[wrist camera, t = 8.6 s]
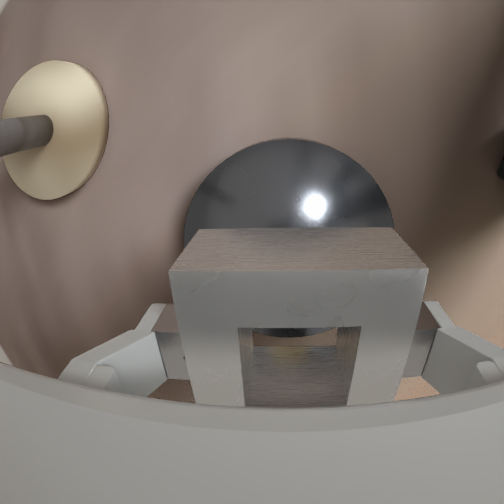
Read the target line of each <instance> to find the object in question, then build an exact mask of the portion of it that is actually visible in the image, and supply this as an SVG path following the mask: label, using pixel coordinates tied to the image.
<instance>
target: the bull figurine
mask: <svg viewBox="0 0 504 504" xmlns="http://www.w3.org/2000/svg"><path fill="white" fill-rule="evenodd" d="M497 175H498V176H499V177H500V178H501V179H503V180H504V158H503V160H502V162H501V164H500V167H499V169H498V172H497Z"/></svg>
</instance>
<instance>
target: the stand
mask: <svg viewBox="0 0 504 504" xmlns="http://www.w3.org/2000/svg"><path fill="white" fill-rule="evenodd" d="M108 129H109V114H108V106H107V102H106V98H105V95H104V92H103V89H102V87H101V86H100V84H99V82H98V80H97V79H96V78H95V76H94V75H93V74H92V73H91V72H90V71H89V70H87V69H86V68H84V67H83V66H81V65H78V64H76V63H71V62H66V61H57V60H52V61H46V62H43V63H40V64H38V65H36V66H34V67H33V68H31V69H30V70H29V71H27V72H26V73H25V74H24V75H23V76H22V77H21V78H20V79H19V80H18V82H17V83H16V84H15V86H14V87H13V89H12V91H11V93H10V94H9V96H8V99H7V101H6V103H5V107H4V110H3V113H2V118H1V120H0V157H1V156H2V157H3V160H4V163H5V166H6V169H7V171H8V173H9V175H10V176H11V178H12V180H13V181H14V182H15V183H16V185H17V186H18V187H19V188H20V189H21V190H22V191H24V192H25V193H26V194H28V195H30V196H32V197H34V198H37V199H43V200H52V199H56V198H59V197H62V196H64V195H66V194H69V193H71V192H73V191H75V190H77V189H78V188H80V187H81V186H82V185H83V184H85V183H86V182H87V181H88V179H89V178H90V177H91V176H92V175H93V173H94V172H95V170H96V169H97V167H98V165H99V163H100V161H101V159H102V156H103V154H104V150H105V147H106V143H107V138H108Z"/></svg>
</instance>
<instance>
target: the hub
mask: <svg viewBox="0 0 504 504" xmlns="http://www.w3.org/2000/svg"><path fill="white" fill-rule="evenodd" d="M308 227H392V228H393V230H394V225H393V220H392V215H391V211H390V208H389V206H388V203H387V201H386V198H385V196H384V194H383V193H382V191H381V189H380V187H379V186H378V184H377V183H376V182H375V180H374V179H373V178H372V177H371V175H370V174H369V173H368V172H367V171H366V170H365V169H364V168H363V167H362V166H361V165H359V164H358V163H357V162H355V161H354V160H353V159H351V158H350V157H348V156H347V155H345V154H343V153H341V152H339V151H338V150H336V149H334V148H332V147H330V146H327V145H325V144H322V143H319V142H316V141H311V140H306V139H299V138H280V139H272V140H267V141H263V142H259V143H256V144H254V145H251V146H248V147H246V148H244V149H242V150H240V151H239V152H237V153H235V154H233V155H232V156H231V157H229V158H228V159H226V160H225V161H224V162H222V163H221V164H220V165H218V166H217V167H216V168H215V169H214V170H213V171H212V172H211V173H210V174H209V175H208V176H207V178H206V179H205V180H204V182H203V183H202V184H201V186H200V187H199V189H198V190H197V192H196V194H195V196H194V198H193V199H192V202H191V205H190V207H189V210H188V213H187V217H186V221H185V227H184V249H185V248H186V246H187V245H188V244H189V242H190V241H191V239H192V238H193V237H194V235H195V234H196V233H197V231H198V230H199V229H235V228H308ZM332 328H335V327H323V328H253V332H256V333H260V334H264V335H269V336H275V337H303V336H309V335H314V334H318V333H321V332H325V331H327V330H330V329H332Z"/></svg>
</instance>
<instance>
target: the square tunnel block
mask: <svg viewBox="0 0 504 504" xmlns="http://www.w3.org/2000/svg"><path fill="white" fill-rule="evenodd" d="M428 270H429V268H428V267H427V266H426V265H425V264H424V263H423V261H422V260H421V259H420V258H419V257H418V256H417V255H416V254H415V252H414V251H413V250H412V249H411V248H410V247H409V246H408V245H407V244H406V242H405V241H404V240H403V239H402V238H401V237H400V236H399V235H398V234H397V233H396V232H395V231H394V230H393V228H392V227H308V228H235V229H199V230H198V231H197V233H196V234H195V235H194V237H193V238H192V239H191V241H190V242H189V244H188V245H187V246H186V248H185V249H184V250H183V252H182V253H181V254H180V256H179V257H178V258H177V260H176V261H175V262H174V264H173V265H172V267H171V268H170V269H169V271H168V273H169V279H170V285H171V291H172V296H173V302H174V307H175V312H176V317H177V322H178V327H179V332H180V337H181V342H182V347H183V351H184V356H185V360H186V365H187V369H188V373H189V378H190V382H191V386H192V390H193V394H194V398H195V402H196V403H198V404H209V405H223V406H240V407H271V408H302V407H332V406H349V405H362V404H373V403H383V402H392V401H394V398H395V395H396V393H397V390H398V387H399V384H400V381H401V378H402V375H403V371H404V368H405V365H406V362H407V358H408V355H409V351H410V348H411V344H412V341H413V337H414V333H415V329H416V325H417V321H418V317H419V313H420V309H421V304H422V300H423V295H424V291H425V286H426V281H427V276H428ZM323 327H338V329H337V338H336V346H254V341H253V328H323Z"/></svg>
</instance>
